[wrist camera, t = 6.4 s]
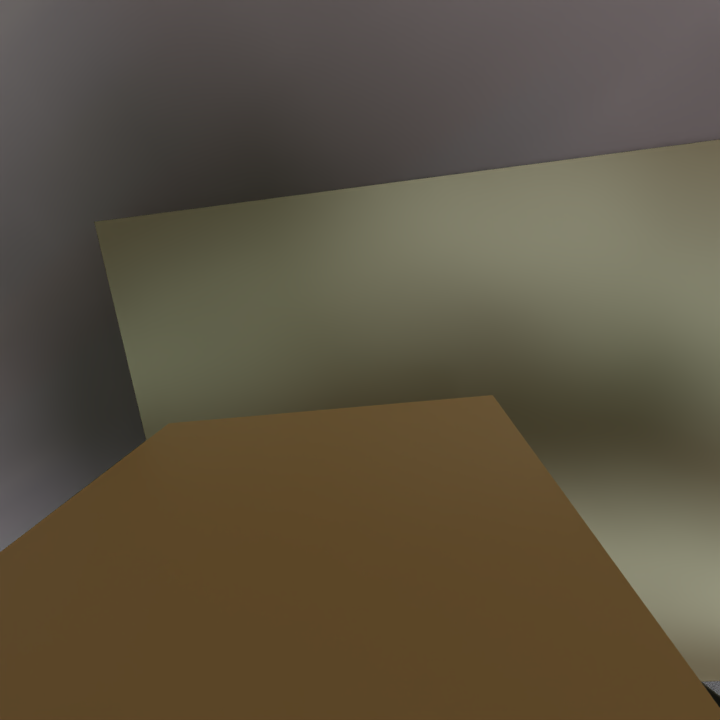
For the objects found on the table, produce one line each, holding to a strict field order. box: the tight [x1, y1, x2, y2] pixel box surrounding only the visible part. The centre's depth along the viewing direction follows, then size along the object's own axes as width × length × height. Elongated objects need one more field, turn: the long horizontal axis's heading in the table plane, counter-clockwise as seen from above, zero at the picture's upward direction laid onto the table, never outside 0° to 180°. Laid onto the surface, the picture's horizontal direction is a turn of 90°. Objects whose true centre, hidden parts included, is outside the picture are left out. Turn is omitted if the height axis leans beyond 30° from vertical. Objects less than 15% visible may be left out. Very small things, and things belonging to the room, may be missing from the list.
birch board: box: [94, 140, 720, 682], centre depth 11 cm, size 13×20×1 cm, turn 97°
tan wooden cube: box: [0, 395, 720, 720], centre depth 5 cm, size 5×5×6 cm
